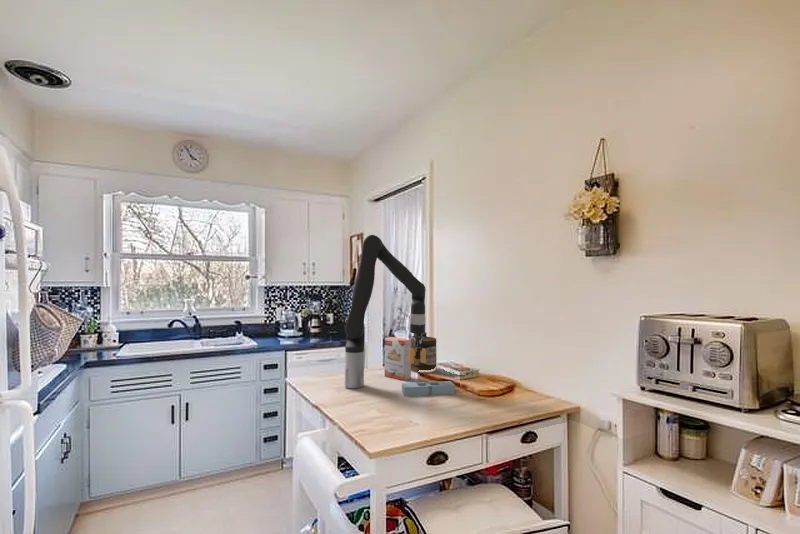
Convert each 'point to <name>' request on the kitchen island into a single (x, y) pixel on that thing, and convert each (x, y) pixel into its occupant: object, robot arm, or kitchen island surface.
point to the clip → (413, 353)
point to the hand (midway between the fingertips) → (417, 358)
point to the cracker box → (397, 358)
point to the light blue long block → (428, 388)
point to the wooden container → (430, 347)
